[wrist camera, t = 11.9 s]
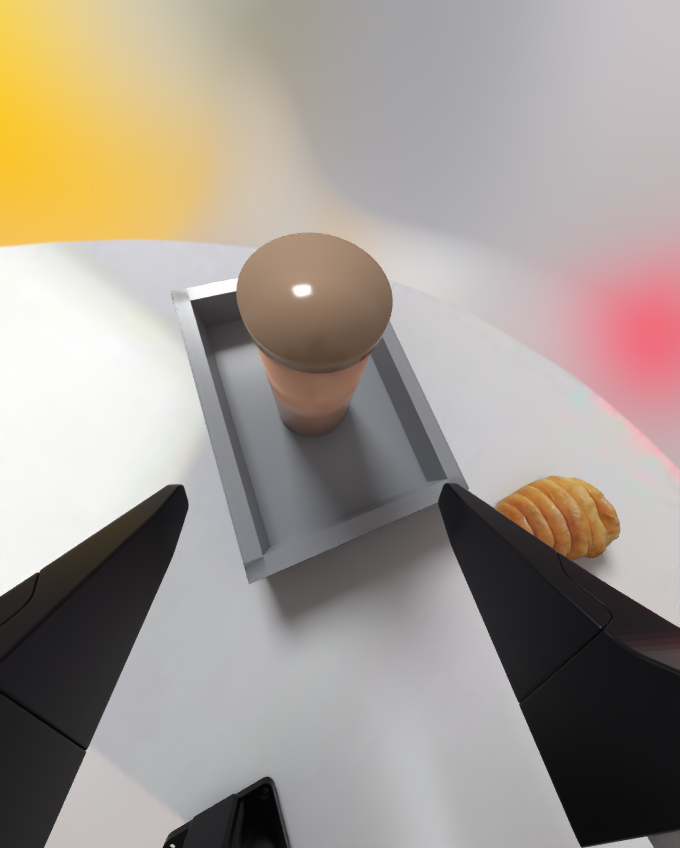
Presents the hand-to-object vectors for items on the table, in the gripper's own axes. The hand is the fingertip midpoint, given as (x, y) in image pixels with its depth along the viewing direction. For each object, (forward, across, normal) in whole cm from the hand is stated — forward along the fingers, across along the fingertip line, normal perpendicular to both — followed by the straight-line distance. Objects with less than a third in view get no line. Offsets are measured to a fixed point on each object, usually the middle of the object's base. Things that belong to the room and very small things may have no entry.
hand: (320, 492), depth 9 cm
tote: (+15, 0, +4) cm, 16 cm away
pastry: (+8, -21, +12) cm, 25 cm away
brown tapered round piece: (+14, 0, +3) cm, 15 cm away
